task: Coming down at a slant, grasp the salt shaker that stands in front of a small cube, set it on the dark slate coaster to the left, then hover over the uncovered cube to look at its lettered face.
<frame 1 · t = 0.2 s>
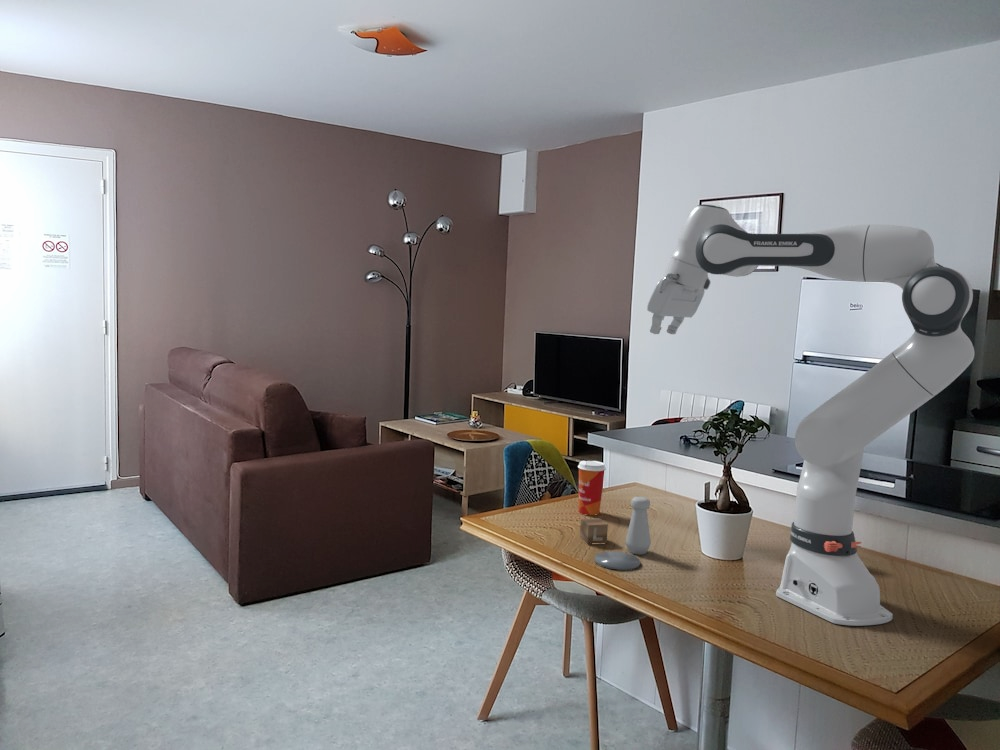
hand: (662, 333, 174), 52 cm above the table, tool tilted 20°, fingers open, 8 cm apart
cube: (593, 541, 186), on the table
salt shaker: (637, 552, 180), on the table
paper cup: (589, 513, 211), on the table
coaster: (617, 562, 172), on the table
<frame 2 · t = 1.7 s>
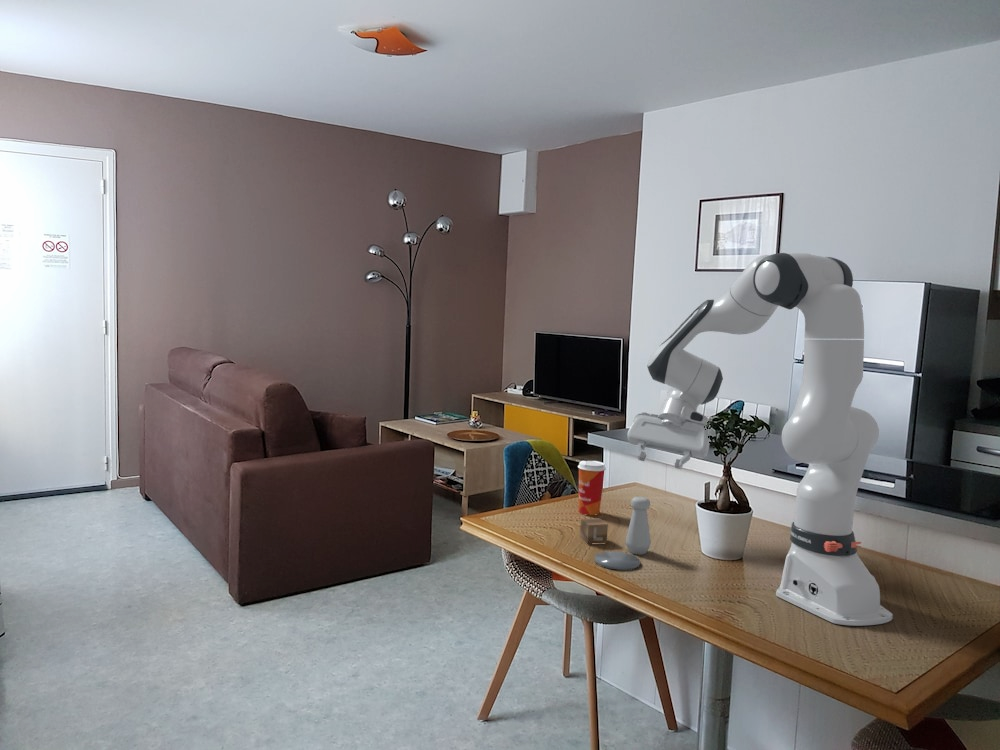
hand: (659, 463, 188), 19 cm above the table, tool tilted 45°, fingers open, 8 cm apart
nothing on the table moved.
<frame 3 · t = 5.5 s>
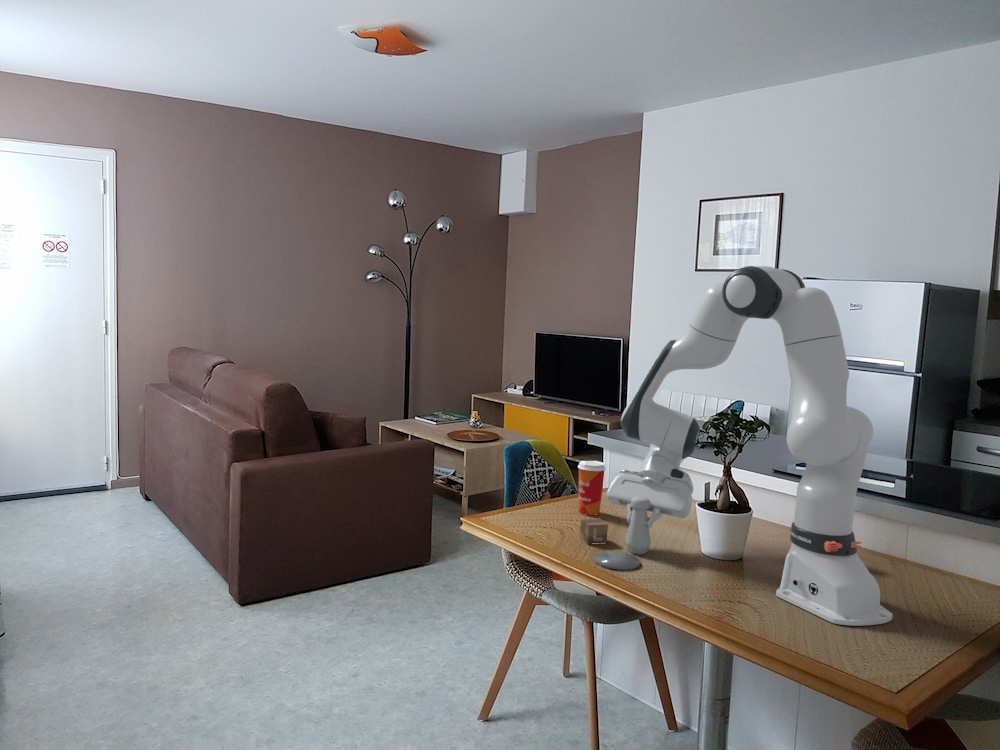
hand: (638, 524, 179), 7 cm above the table, tool tilted 45°, fingers closed on salt shaker, 3 cm apart
salt shaker: (637, 552, 180), on the table, touching gripper
everything else where it was.
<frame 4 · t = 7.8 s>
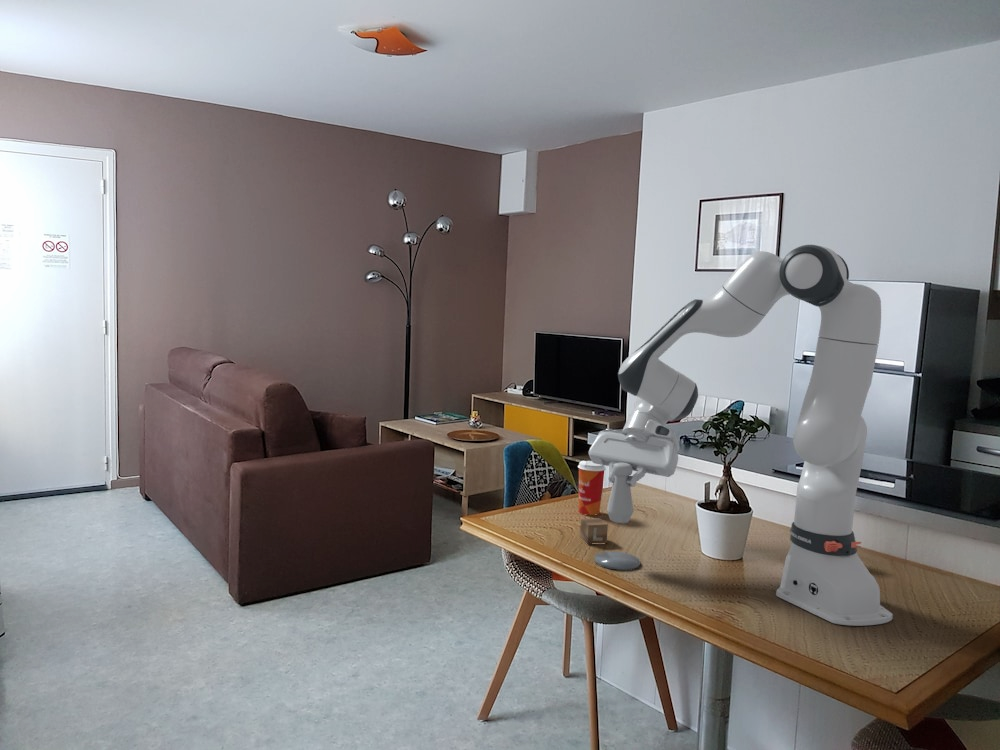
hand: (621, 483, 170), 18 cm above the table, tool tilted 45°, fingers closed on salt shaker, 3 cm apart
salt shaker: (619, 521, 171), point 9 cm above the table, touching gripper
everything else where it was.
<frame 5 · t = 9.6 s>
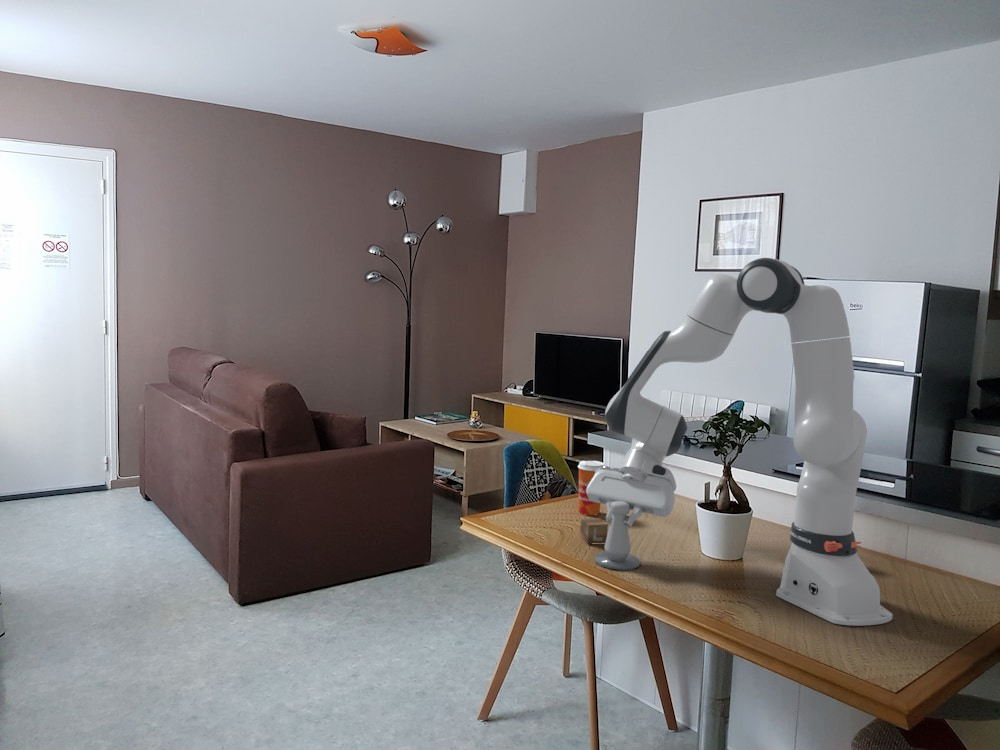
hand: (618, 522, 170), 9 cm above the table, tool tilted 45°, fingers closed on salt shaker, 3 cm apart
salt shaker: (616, 559, 172), point 1 cm above the table, touching coaster, gripper
everything else where it was.
when the fingers open (9 cm above the table, at t = 9.6 s): salt shaker stays where it is, resting on coaster.
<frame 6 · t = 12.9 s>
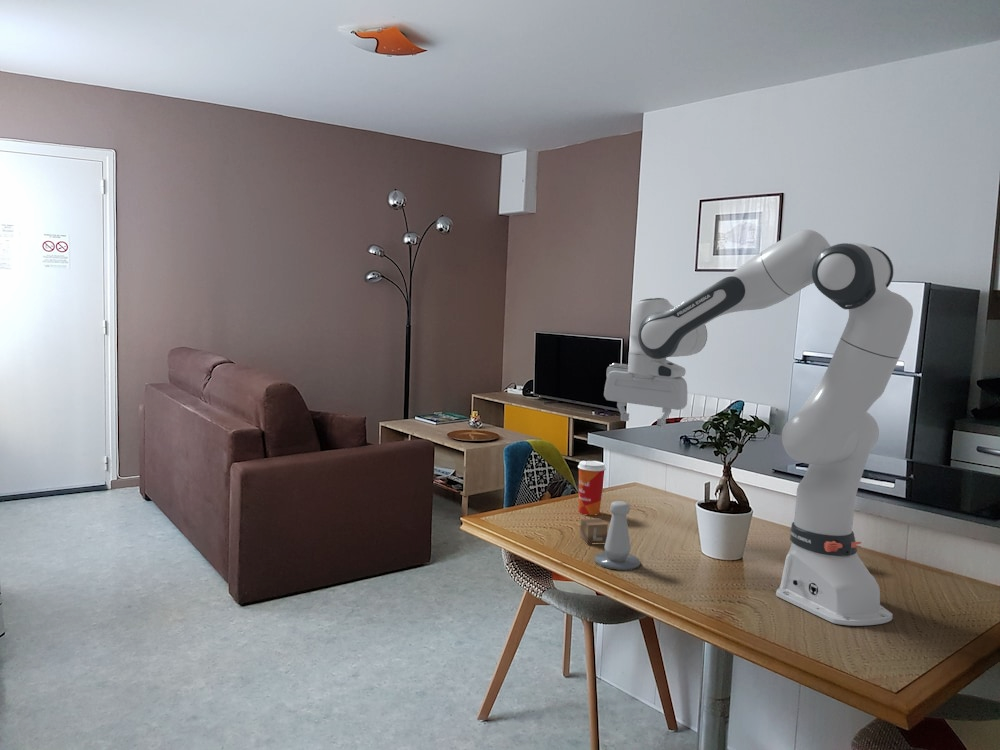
hand: (642, 423, 184), 29 cm above the table, tool pointing down, fingers open, 8 cm apart
salt shaker: (616, 559, 172), point 1 cm above the table, touching coaster
everything else where it was.
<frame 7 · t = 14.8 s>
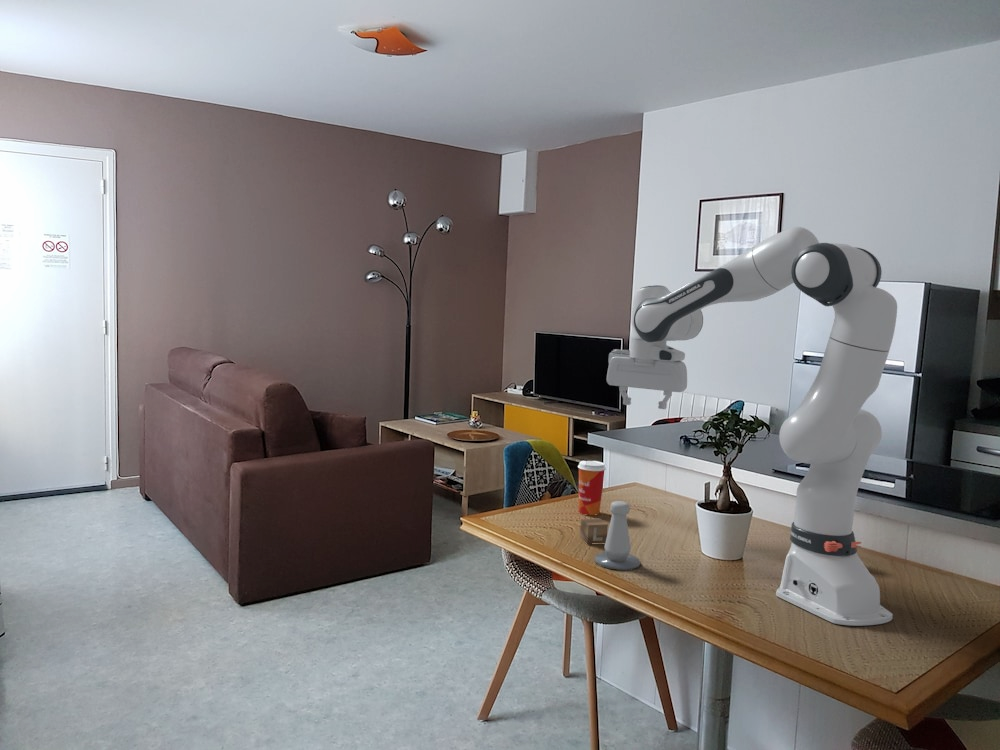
hand: (644, 406, 191), 32 cm above the table, tool pointing down, fingers open, 8 cm apart
nothing on the table moved.
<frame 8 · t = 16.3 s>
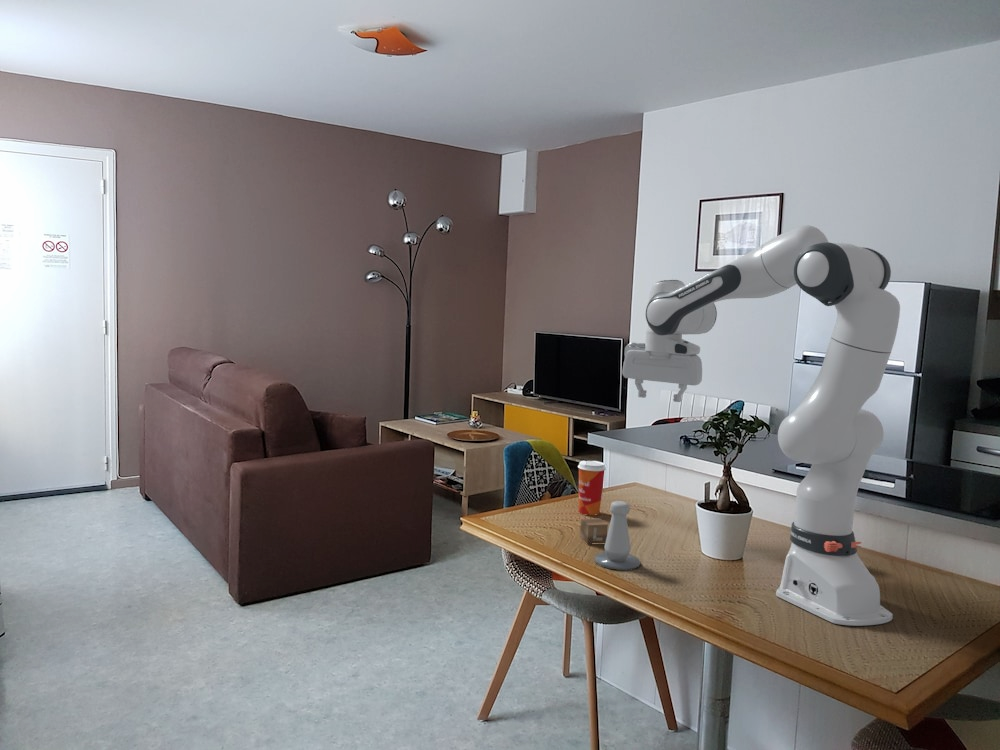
hand: (659, 399, 194), 34 cm above the table, tool pointing down, fingers open, 8 cm apart
nothing on the table moved.
at the end: salt shaker 0.2 cm from the coaster (horizontally); salt shaker tilted 0°; cube moved 0.1 cm from its start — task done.
